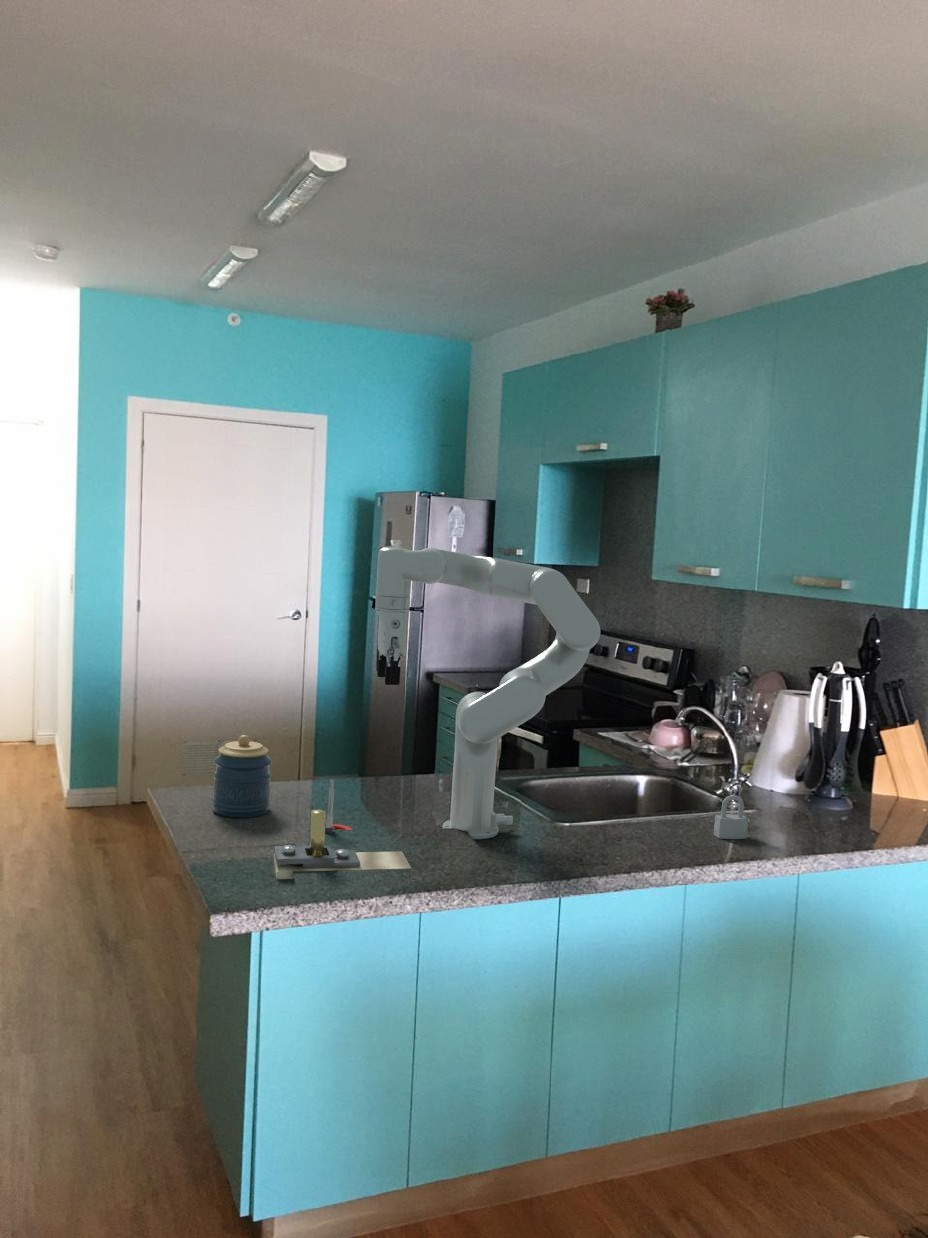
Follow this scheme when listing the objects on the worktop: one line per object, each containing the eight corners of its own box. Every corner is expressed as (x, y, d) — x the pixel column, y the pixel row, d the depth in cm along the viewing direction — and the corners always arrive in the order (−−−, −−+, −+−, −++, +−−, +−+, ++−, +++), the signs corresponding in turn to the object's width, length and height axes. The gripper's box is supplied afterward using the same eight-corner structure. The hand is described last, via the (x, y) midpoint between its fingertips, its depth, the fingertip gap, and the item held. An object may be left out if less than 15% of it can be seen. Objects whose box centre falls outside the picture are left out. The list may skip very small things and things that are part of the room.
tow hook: (320, 827, 231) (307, 838, 222) (324, 770, 230) (312, 778, 221) (356, 831, 230) (345, 842, 221) (361, 774, 229) (350, 782, 220)
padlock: (719, 840, 239) (723, 797, 238) (712, 834, 243) (715, 793, 242) (747, 840, 241) (751, 798, 240) (739, 834, 245) (743, 793, 244)
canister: (243, 799, 247) (246, 726, 246) (281, 811, 240) (285, 736, 238) (200, 809, 237) (203, 734, 235) (238, 822, 229) (242, 744, 228)
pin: (322, 858, 205) (324, 809, 203) (324, 863, 202) (326, 814, 201) (308, 859, 204) (310, 810, 203) (310, 864, 201) (311, 814, 200)
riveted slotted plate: (354, 854, 209) (355, 840, 208) (359, 867, 201) (360, 852, 201) (273, 856, 205) (274, 841, 204) (276, 869, 197) (277, 854, 197)
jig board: (401, 858, 212) (402, 851, 212) (411, 875, 203) (411, 868, 203) (273, 861, 206) (273, 854, 206) (276, 879, 196) (276, 871, 196)
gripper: (417, 608, 220) (412, 688, 222) (401, 600, 236) (397, 674, 238) (382, 607, 218) (377, 687, 220) (369, 599, 235) (365, 674, 236)
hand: (388, 680), depth 229 cm, fingers open, 9 cm apart
